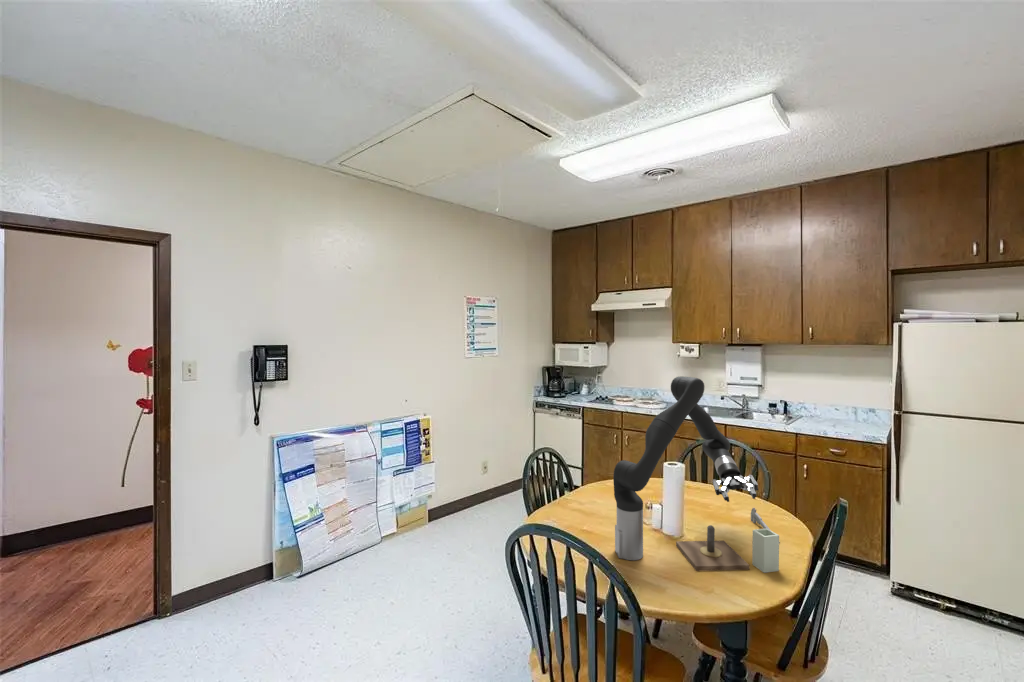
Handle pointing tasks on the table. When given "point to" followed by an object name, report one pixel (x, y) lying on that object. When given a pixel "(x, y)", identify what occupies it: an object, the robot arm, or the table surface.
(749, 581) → the table surface
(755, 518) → the caliper
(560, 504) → the table surface
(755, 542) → the sleeve
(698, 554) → the post stand
